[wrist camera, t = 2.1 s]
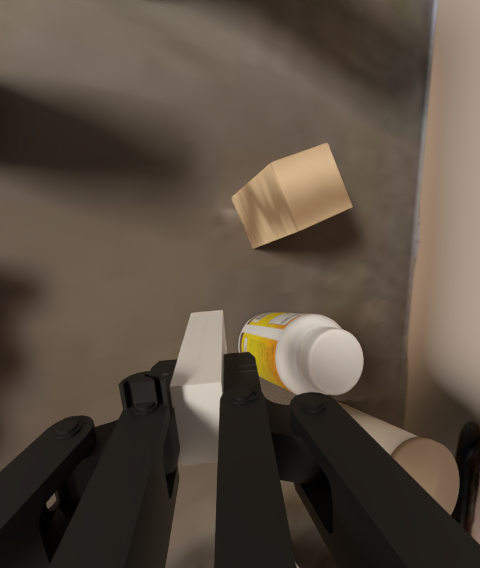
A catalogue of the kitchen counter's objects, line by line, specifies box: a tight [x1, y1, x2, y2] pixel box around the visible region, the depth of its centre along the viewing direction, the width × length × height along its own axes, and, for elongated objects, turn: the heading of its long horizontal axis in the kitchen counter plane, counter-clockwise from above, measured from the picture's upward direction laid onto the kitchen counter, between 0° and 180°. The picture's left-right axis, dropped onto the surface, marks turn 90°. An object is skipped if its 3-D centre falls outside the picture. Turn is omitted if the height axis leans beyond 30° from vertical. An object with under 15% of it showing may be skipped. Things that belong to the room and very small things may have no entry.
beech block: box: [232, 143, 353, 249], centre depth 34 cm, size 6×6×10 cm
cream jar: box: [338, 402, 459, 515], centre depth 34 cm, size 7×7×13 cm
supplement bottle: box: [238, 312, 364, 395], centre depth 32 cm, size 7×7×13 cm
